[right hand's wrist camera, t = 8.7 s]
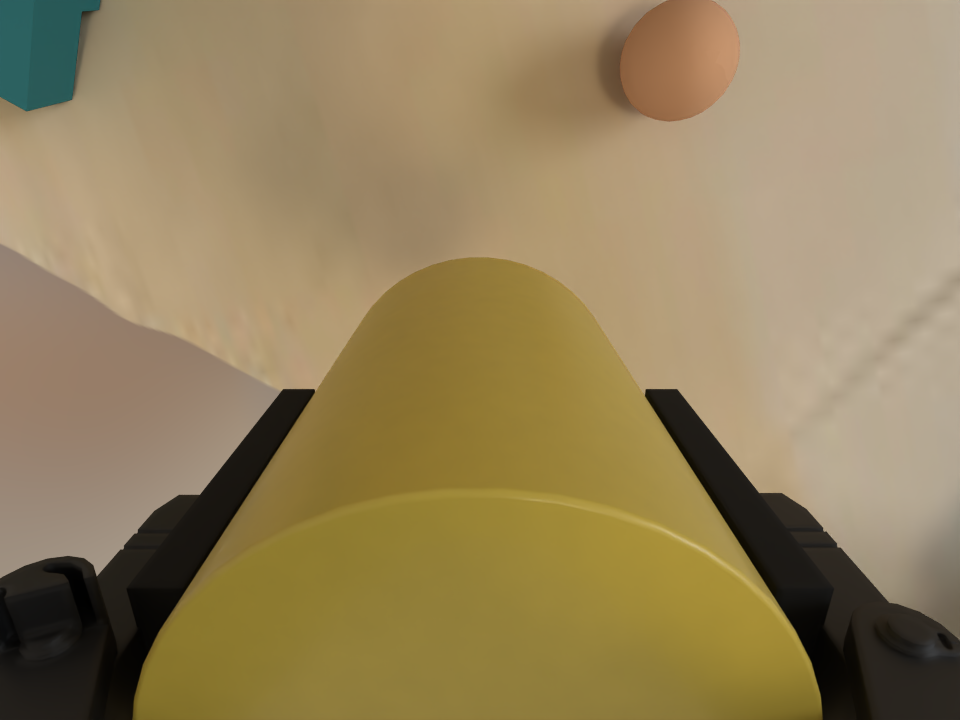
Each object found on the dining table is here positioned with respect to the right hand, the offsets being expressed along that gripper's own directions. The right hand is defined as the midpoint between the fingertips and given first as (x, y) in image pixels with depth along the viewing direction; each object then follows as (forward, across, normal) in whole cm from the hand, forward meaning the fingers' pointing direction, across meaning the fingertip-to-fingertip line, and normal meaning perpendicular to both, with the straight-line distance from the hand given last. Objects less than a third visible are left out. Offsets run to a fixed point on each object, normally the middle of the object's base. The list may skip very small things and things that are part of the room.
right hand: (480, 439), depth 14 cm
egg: (+27, +11, +11) cm, 31 cm away
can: (+3, 0, 0) cm, 3 cm away
